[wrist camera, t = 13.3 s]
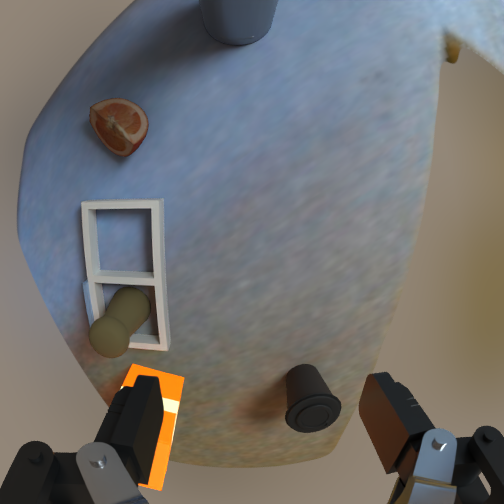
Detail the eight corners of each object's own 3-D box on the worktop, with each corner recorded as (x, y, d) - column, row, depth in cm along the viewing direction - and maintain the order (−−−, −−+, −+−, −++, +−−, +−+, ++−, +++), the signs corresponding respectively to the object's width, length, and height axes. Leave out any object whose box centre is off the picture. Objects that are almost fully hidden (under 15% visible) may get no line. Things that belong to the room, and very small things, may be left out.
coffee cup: (317, 396, 47) (331, 437, 38) (272, 393, 47) (279, 436, 37) (333, 359, 45) (352, 398, 36) (284, 354, 45) (295, 396, 35)
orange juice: (132, 362, 44) (90, 455, 25) (185, 376, 45) (164, 477, 26) (130, 395, 46) (96, 483, 27) (178, 408, 47) (161, 502, 28)
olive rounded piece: (155, 295, 41) (131, 333, 30) (146, 329, 42) (124, 372, 32) (116, 280, 40) (84, 313, 30) (110, 315, 42) (79, 353, 31)
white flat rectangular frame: (85, 200, 37) (75, 202, 34) (163, 198, 38) (157, 200, 35) (101, 335, 42) (93, 345, 39) (170, 341, 43) (166, 353, 40)
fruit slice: (91, 130, 35) (74, 126, 30) (122, 91, 34) (108, 82, 29) (131, 166, 37) (117, 166, 32) (164, 127, 36) (154, 121, 31)
